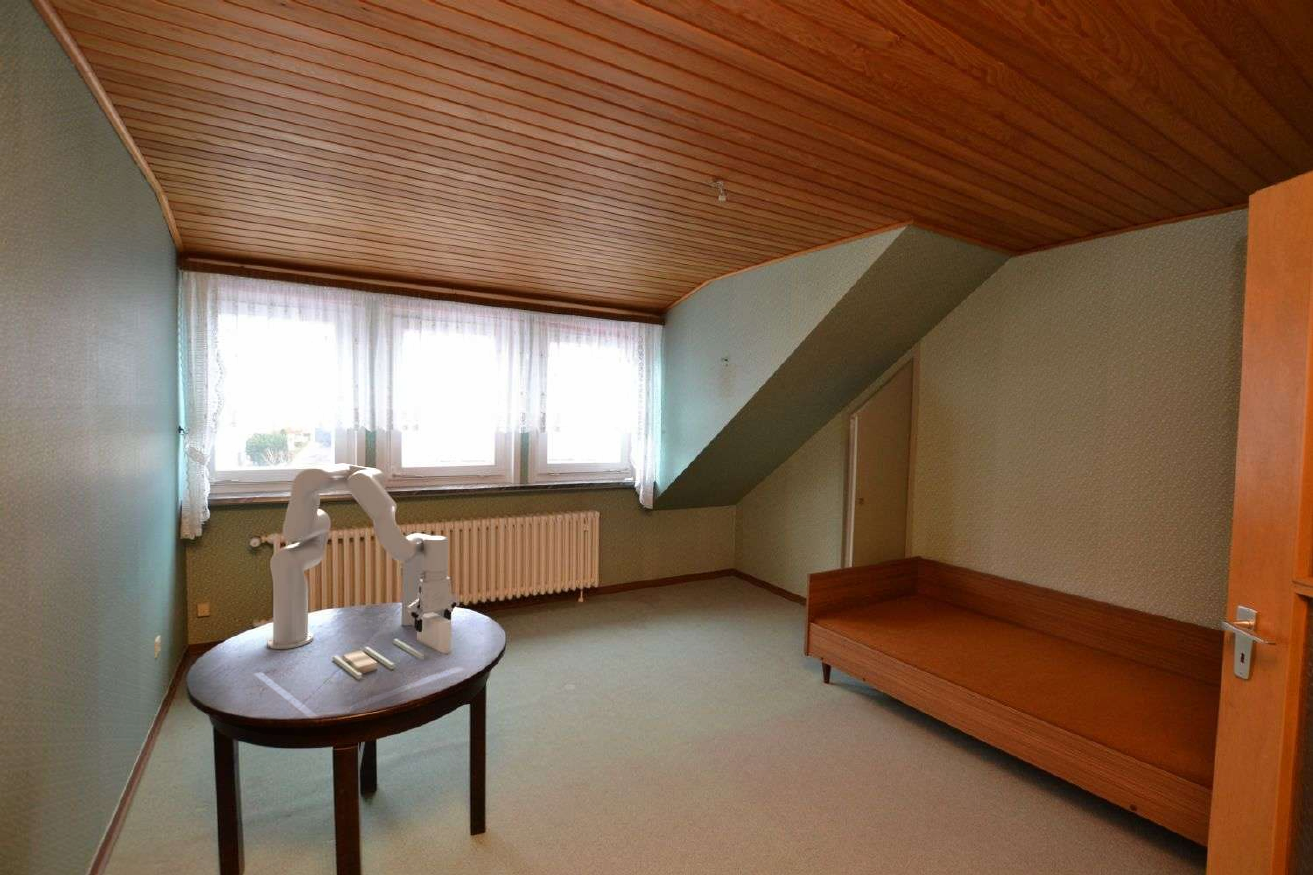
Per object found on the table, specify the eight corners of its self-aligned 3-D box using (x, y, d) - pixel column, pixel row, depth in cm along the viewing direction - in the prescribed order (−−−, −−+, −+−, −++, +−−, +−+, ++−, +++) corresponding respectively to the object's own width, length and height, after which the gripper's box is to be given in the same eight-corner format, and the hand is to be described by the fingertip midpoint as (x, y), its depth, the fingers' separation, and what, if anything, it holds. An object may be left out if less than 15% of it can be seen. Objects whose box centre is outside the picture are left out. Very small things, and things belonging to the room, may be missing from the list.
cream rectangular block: (416, 643, 187) (417, 613, 186) (428, 639, 190) (428, 610, 189) (438, 655, 178) (439, 624, 177) (450, 651, 181) (451, 620, 180)
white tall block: (446, 622, 206) (448, 540, 205) (439, 627, 201) (441, 543, 200) (409, 619, 208) (410, 538, 207) (401, 624, 202) (402, 541, 201)
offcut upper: (342, 661, 168) (342, 654, 168) (360, 656, 172) (360, 650, 172) (358, 674, 160) (358, 667, 160) (376, 669, 164) (377, 662, 164)
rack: (332, 664, 169) (333, 656, 169) (396, 646, 184) (396, 638, 183) (358, 683, 157) (358, 675, 157) (424, 662, 172) (424, 654, 172)
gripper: (414, 582, 174) (412, 637, 175) (465, 572, 187) (463, 623, 188) (402, 577, 179) (401, 630, 179) (453, 567, 192) (451, 617, 193)
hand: (432, 627), depth 184 cm, fingers open, 9 cm apart
